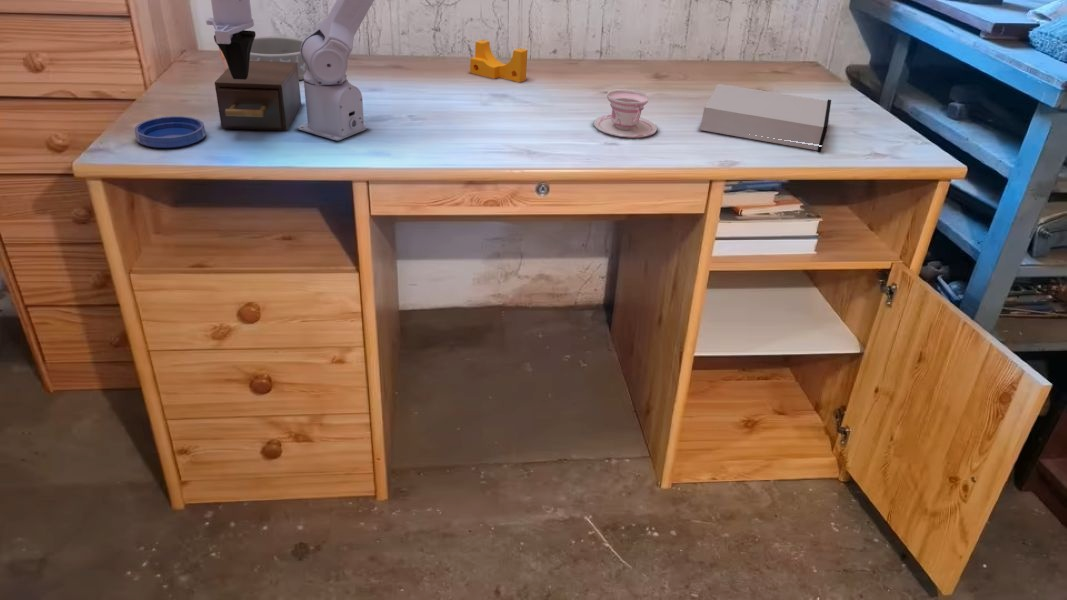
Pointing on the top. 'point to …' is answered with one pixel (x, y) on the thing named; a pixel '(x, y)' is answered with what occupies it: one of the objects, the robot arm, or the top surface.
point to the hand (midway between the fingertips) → (240, 78)
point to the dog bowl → (278, 51)
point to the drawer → (250, 107)
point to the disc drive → (767, 116)
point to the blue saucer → (170, 132)
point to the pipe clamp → (498, 63)
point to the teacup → (626, 115)
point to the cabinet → (268, 87)
